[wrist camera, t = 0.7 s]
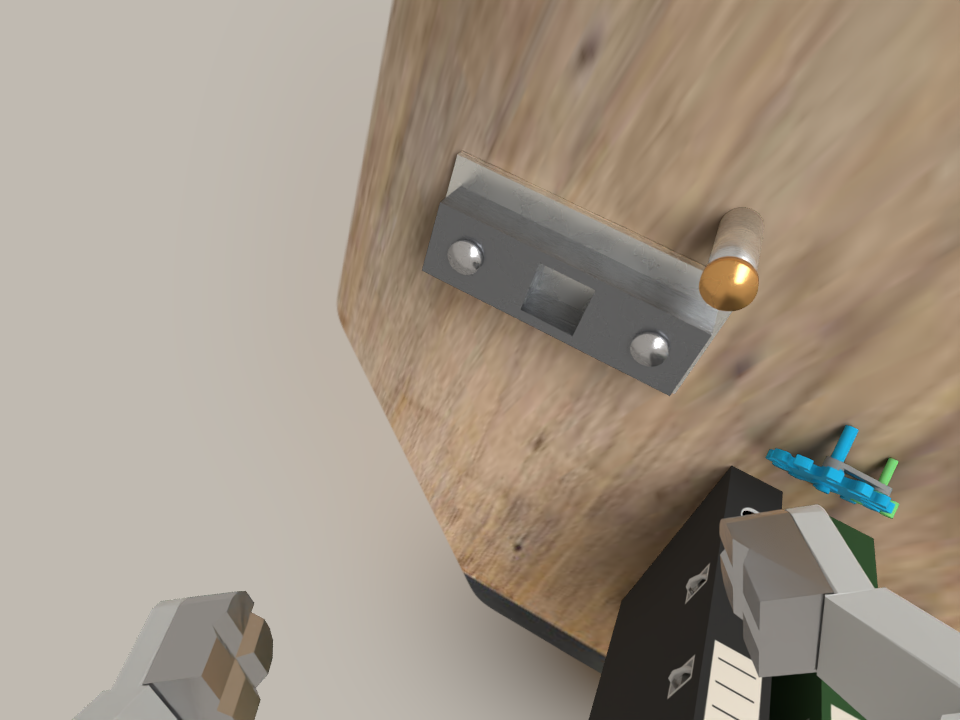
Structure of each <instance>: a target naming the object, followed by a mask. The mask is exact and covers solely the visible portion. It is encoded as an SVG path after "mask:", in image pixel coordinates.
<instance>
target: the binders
mask: <svg viewBox="0 0 960 720" xmlns="http://www.w3.org/2000/svg"><path fill="white" fill-rule="evenodd" d="M782 494H783V492H782V491H780V490H778V489H776V488H774V487H772V486H770V485H768V484H766V483H764V482H762V481H760V480H759V479H757V478H755V477H753V476H751V475H749V474H747V473H745V472H743V471H741V470H739V469H737V468H735V467H733V466H731V467H730V469H729V470H728V471H727V472H726V474H725V475H724V476H723V477H722V479H721V480H720V481H719V482H718V483H717V485H716V486H715V487H714V488H713V490H712V491H711V492H710V493H709V495H708V496H707V497H706V498H705V499H704V501H703V502H702V503H701V504H700V506H699V507H698V508H697V509H696V511H695V512H694V513H693V514H692V515H691V517H690V518H689V519H688V520H687V522H686V523H685V524H684V525H683V527H682V528H681V529H680V530H679V531H678V533H677V534H676V535H675V536H674V538H673V539H672V540H671V541H670V543H669V544H668V545H667V546H666V547H665V549H664V550H663V551H662V552H661V554H660V555H659V556H658V557H657V558H656V560H655V561H654V562H653V563H652V565H651V566H650V567H649V568H648V570H647V571H646V572H645V573H644V574H643V576H642V577H641V578H640V579H639V581H638V582H637V583H636V584H635V586H634V587H633V588H632V589H631V590H630V592H629V593H628V594H627V595H626V597H625V598H624V599H623V600H622V602H621V605H620V609H619V613H618V616H617V620H616V623H615V627H614V631H613V634H612V638H611V641H610V645H609V649H608V652H607V656H606V659H605V663H604V667H603V670H602V674H601V678H600V681H599V685H598V688H597V692H596V695H595V699H594V703H593V706H592V710H591V713H590V717H589V720H867V719H865V718H864V717H863V716H862V715H861V714H860V713H859V712H858V711H856V710H855V709H854V708H853V707H852V706H851V705H850V704H849V703H848V702H846V701H845V700H844V699H843V698H842V697H841V696H840V695H839V694H837V693H836V692H835V691H834V690H833V689H832V688H831V687H830V686H828V685H827V684H826V683H825V682H824V681H823V680H822V679H821V678H819V677H818V676H817V672H813V673H803V674H792V675H781V676H770V677H758V674H757V672H756V669H755V667H754V664H753V662H752V659H751V656H750V654H749V651H748V649H747V646H746V644H745V641H744V639H743V620H742V619H741V618H740V617H738V616H737V615H736V614H734V613H733V610H732V607H731V605H730V602H729V599H728V596H727V593H726V590H725V586H724V582H723V576H722V571H721V560H720V554H721V553H722V552H723V551H724V549H725V548H724V545H723V543H722V540H721V538H720V526H719V524H720V521H721V519H724V518H731V517H737V516H743V515H742V513H743V511H747V510H748V511H751V512H753V513H754V514H756V513H762V512H768V511H774V510H781V509H782ZM829 517H830V516H829ZM830 519H831V520H832V522H833V523H834V525H835V527H836V528H837V530H838V531H839V533H840V534H841V536H842V538H843V539H844V541H845V542H846V544H847V546H848V547H849V549H850V550H851V552H852V553H853V555H854V557H855V558H856V560H857V561H858V563H859V564H860V566H861V568H862V569H863V571H864V572H865V574H866V576H867V577H868V579H869V580H870V582H871V583H872V585H873V587H874V588H878V584H877V573H876V561H875V549H874V539H873V538H871V537H869V536H867V535H865V534H863V533H861V532H860V531H858V530H856V529H854V528H852V527H850V526H848V525H846V524H844V523H842V522H840V521H838V520H836V519H834V518H832V517H830Z"/></svg>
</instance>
